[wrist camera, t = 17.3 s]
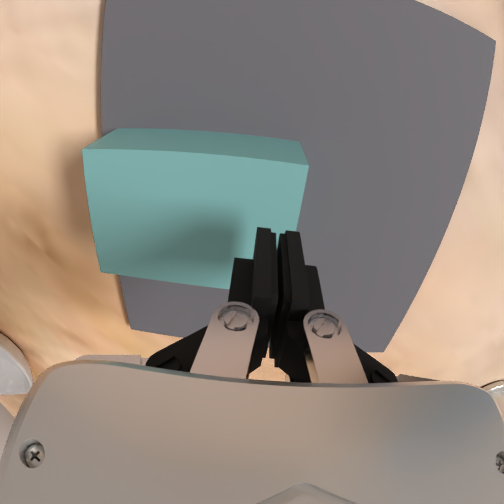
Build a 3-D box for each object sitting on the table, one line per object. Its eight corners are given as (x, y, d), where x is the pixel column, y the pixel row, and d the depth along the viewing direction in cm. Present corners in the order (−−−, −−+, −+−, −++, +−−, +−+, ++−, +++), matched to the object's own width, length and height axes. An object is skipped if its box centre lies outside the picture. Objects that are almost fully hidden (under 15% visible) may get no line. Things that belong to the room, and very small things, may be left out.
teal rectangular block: (308, 165, 12) (78, 149, 12) (282, 295, 16) (97, 271, 16) (299, 141, 16) (114, 128, 15) (279, 251, 20) (122, 234, 19)
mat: (490, 40, 11) (495, 41, 10) (381, 347, 26) (383, 352, 25) (114, -25, 10) (109, -27, 10) (133, 323, 25) (130, 329, 25)
